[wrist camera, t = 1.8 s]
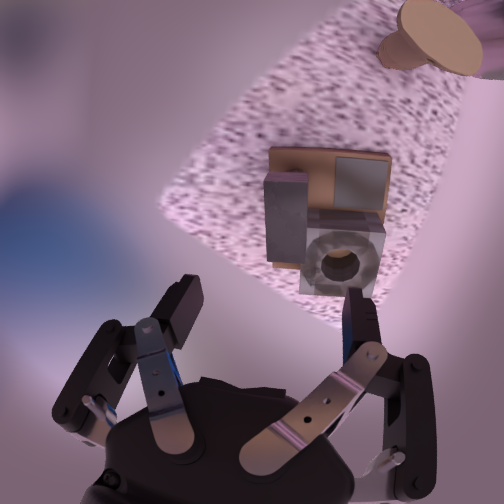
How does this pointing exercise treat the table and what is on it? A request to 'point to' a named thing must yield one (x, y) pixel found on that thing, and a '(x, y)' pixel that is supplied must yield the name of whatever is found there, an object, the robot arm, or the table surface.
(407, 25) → the handle
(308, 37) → the table surface
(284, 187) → the hammer
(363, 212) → the peg insertion fixture
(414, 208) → the table surface
